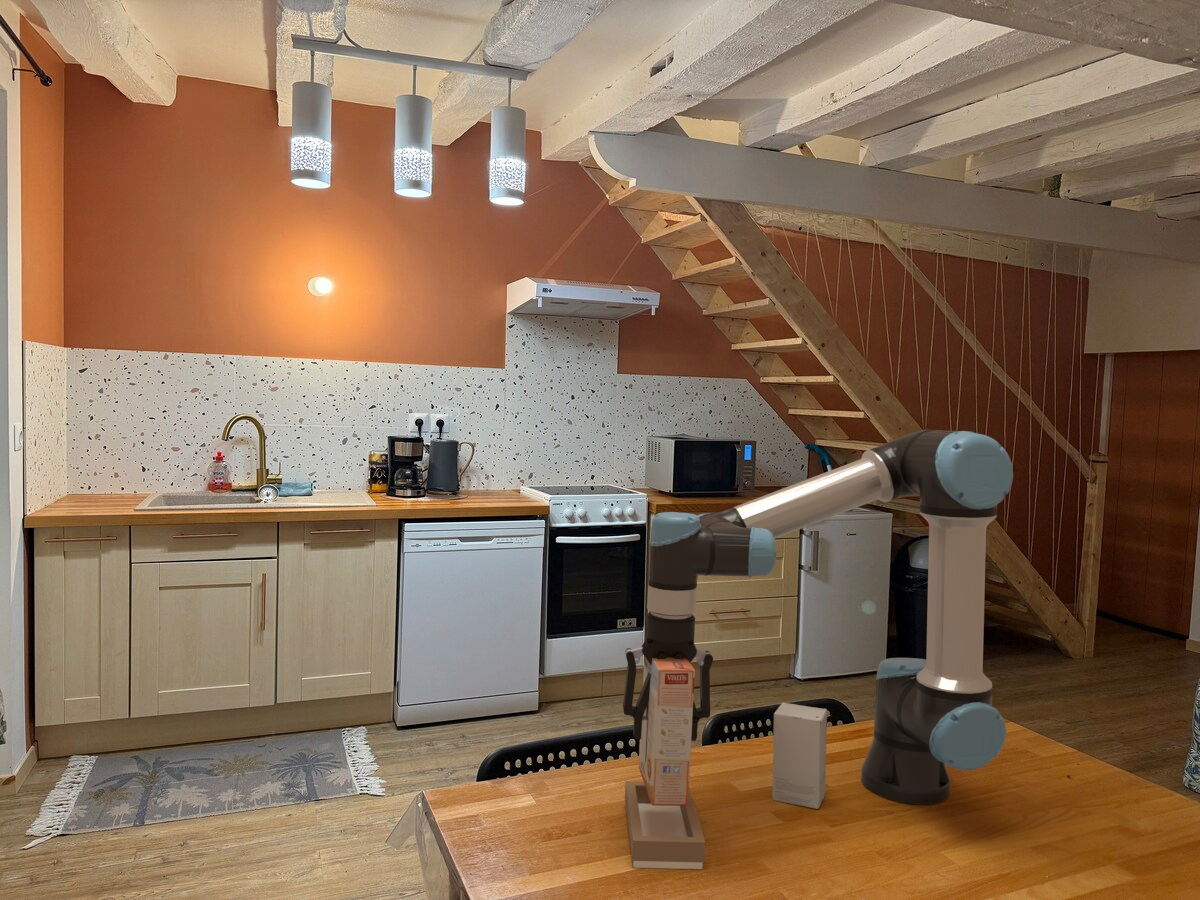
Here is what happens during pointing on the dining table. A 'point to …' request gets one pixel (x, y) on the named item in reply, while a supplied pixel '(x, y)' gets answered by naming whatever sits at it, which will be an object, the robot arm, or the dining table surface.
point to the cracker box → (668, 731)
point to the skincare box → (799, 755)
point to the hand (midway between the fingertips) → (663, 759)
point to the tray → (663, 832)
